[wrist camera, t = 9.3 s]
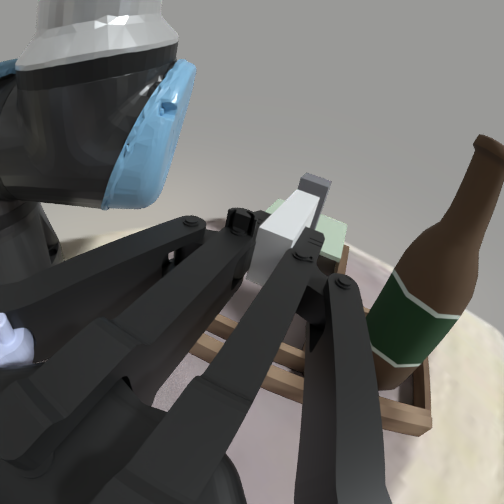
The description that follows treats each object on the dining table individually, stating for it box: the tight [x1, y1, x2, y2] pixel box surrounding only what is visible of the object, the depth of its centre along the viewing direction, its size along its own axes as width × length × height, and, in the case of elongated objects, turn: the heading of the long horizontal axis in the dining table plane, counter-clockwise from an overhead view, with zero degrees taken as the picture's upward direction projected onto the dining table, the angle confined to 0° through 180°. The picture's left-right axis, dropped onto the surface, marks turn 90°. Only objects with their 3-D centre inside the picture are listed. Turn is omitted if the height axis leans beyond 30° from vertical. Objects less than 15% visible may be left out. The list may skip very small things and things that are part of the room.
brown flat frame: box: [189, 245, 432, 437], centre depth 30 cm, size 27×26×3 cm
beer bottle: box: [366, 134, 504, 391], centre depth 19 cm, size 8×8×24 cm
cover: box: [265, 173, 347, 262], centre depth 39 cm, size 13×13×9 cm
